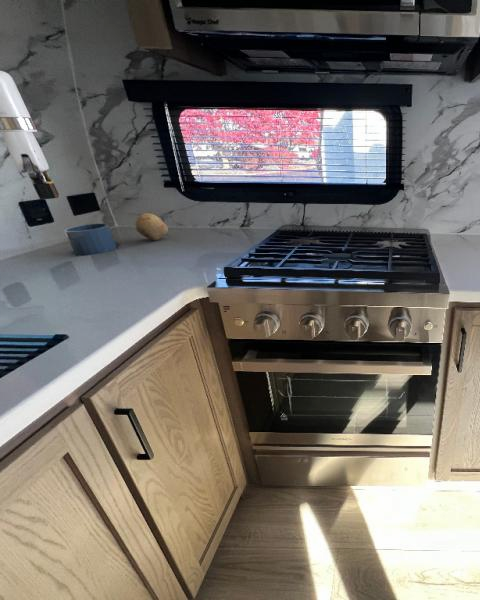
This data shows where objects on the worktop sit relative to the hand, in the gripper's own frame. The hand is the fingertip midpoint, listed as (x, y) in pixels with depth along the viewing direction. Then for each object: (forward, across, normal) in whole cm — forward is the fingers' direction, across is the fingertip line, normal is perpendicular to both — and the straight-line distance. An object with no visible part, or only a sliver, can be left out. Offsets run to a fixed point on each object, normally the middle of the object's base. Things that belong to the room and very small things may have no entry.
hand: (49, 196), depth 95 cm
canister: (+20, -12, +3) cm, 23 cm away
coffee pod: (0, 0, 0) cm, 0 cm away
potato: (+20, -14, +20) cm, 31 cm away
